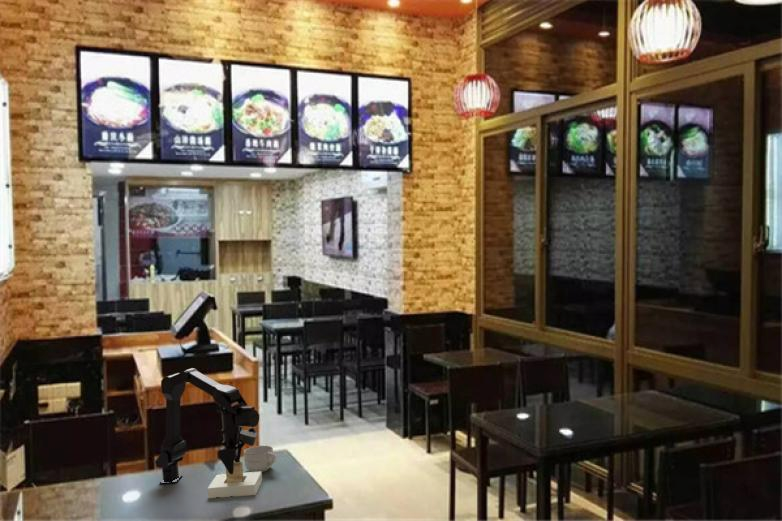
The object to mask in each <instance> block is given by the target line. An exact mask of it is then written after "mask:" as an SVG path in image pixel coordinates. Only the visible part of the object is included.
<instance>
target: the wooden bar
mask: <svg viewBox="0 0 782 521" xmlns="http://www.w3.org/2000/svg"><path fill="white" fill-rule="evenodd" d="M243 473H244V467H243V461H240V462H235V461H234V471H233V474H229V472H228V470H227V469H226V468H225V474H226V478H227V483H236V482H244V478H243Z"/></svg>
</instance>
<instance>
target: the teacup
mask: <svg viewBox="0 0 782 521" xmlns="http://www.w3.org/2000/svg"><path fill="white" fill-rule="evenodd" d="M273 450H274V447H273V446H270V445H256V446H250V447H247V448H246V449H244V450H243V457H244V458H243V459H244V466H245V468H246V469H247V470H248V471H249V472H259V471H262V473H264V472H266V471H268V470H269V469H270V468H271V467H272V466H273V464H274V463H275V462H276V459H277V457H276V454H275V453H274V451H273Z"/></svg>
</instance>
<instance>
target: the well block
mask: <svg viewBox="0 0 782 521" xmlns="http://www.w3.org/2000/svg"><path fill="white" fill-rule="evenodd" d="M243 478H244V482H236V483H227V478H226V473H221V474H220V473H219V474H216V476H215V477H214V478H213V480H212V481H211V483H210V484H209V485H208V487H207V497H208V498H207V499H216V497H220V498H231V497H230V496H233V497H244V496H246V497H247V496H255V495H257V492H258V491H259V490H260V489H259V488H260V486H261V485H262V483H263V472H262V471H259V472H251V471H248V472H243Z"/></svg>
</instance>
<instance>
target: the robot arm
mask: <svg viewBox="0 0 782 521" xmlns="http://www.w3.org/2000/svg"><path fill="white" fill-rule="evenodd" d="M187 383H189V384H190V385H193V386H194V387H195V388H197V389H199V390H201V391H202V392H204V393H206V394H207V395H209V396H211V397H212V399H213V402H215V403H216V404H217V405H218V406H219V408H217V409H216V413H218V414H219V413H220V414H221V422H222V429H221V434H223V435H222V436H223V441H222V442H221V443H222V446H221V447H220V448H219V449H218V451H216V454H217V459H219V460H220V461H221V462H222V464H223V466H224V467H225V470H226V469H227V470H228V472H229V474H233V471H234V462H241V456H242V450H243V447H244V446H245V445H248V446H250V447H254V445H255V443H256V442H257V437H258V432H257V430H256V426H258V424H259V422H260V414H259V411H257V410H256V408H255V406H253V405H252V406H251V405H250V406H248V404H247V403H248V402H247V401H246V400H245V398H244V397H243V396H242V394H241V393H240V390H239V389H238V387H234V386H232V385H228V384H223V383H222V384H221V383H219V382H217V381H216V380H214V379H212V378H210V377H208V376H207V375H205V374H203V373H201V372H200V371H198V369H197V368H193V367H191V368H188V369H184V370H183V371H182V372H175V373H173V374H170V375H167V376H164V377H163V378H162V379H161V381H160V388H161V394H162V396H163V397H164V398H165V402H166V403H165V438H164V440H163V442H162V444H161V447H160V448H161V449H160V454H159V456H158V457H157V459H156V460H155V461H154V463H155V466H156V468H160V469H161V473H162V479H163V480H164V482H172V481H173V480H175V479H177V478H179V475H180V473H179V469H180V468H179V462H182V461H183V460H184V456H185V453H186V451H187V440H184V439H183V438H182V437H181V398H182V396H183V394H184V392H185V391H186V384H187ZM243 427H244V428H245V427H247V428H248V427H249V429H243Z"/></svg>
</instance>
